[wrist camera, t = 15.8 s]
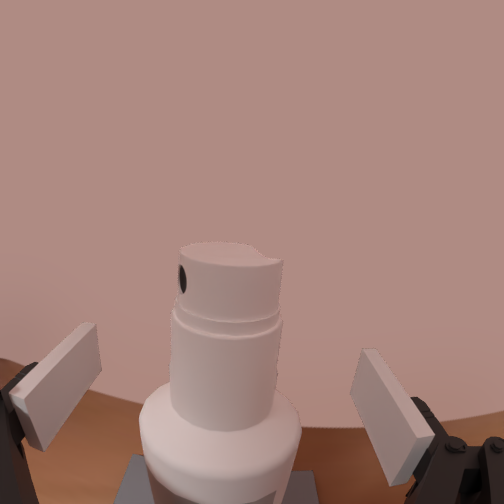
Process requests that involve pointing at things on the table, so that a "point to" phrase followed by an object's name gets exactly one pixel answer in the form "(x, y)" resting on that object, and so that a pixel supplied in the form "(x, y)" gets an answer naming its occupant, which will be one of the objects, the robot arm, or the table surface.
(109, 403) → the table surface
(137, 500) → the mat
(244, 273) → the spray bottle
